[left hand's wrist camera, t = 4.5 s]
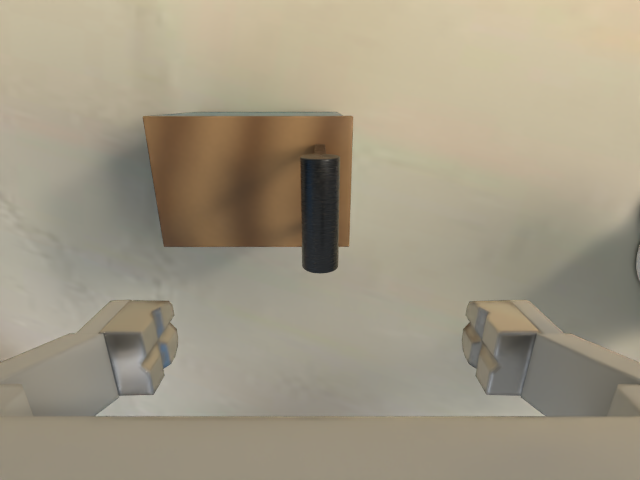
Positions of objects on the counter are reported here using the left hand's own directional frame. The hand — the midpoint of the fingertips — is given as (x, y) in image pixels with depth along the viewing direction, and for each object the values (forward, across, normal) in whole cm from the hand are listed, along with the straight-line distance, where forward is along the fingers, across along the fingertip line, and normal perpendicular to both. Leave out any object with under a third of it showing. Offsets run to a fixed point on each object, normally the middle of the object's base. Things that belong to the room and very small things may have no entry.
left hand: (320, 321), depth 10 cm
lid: (+18, -5, 0) cm, 19 cm away
